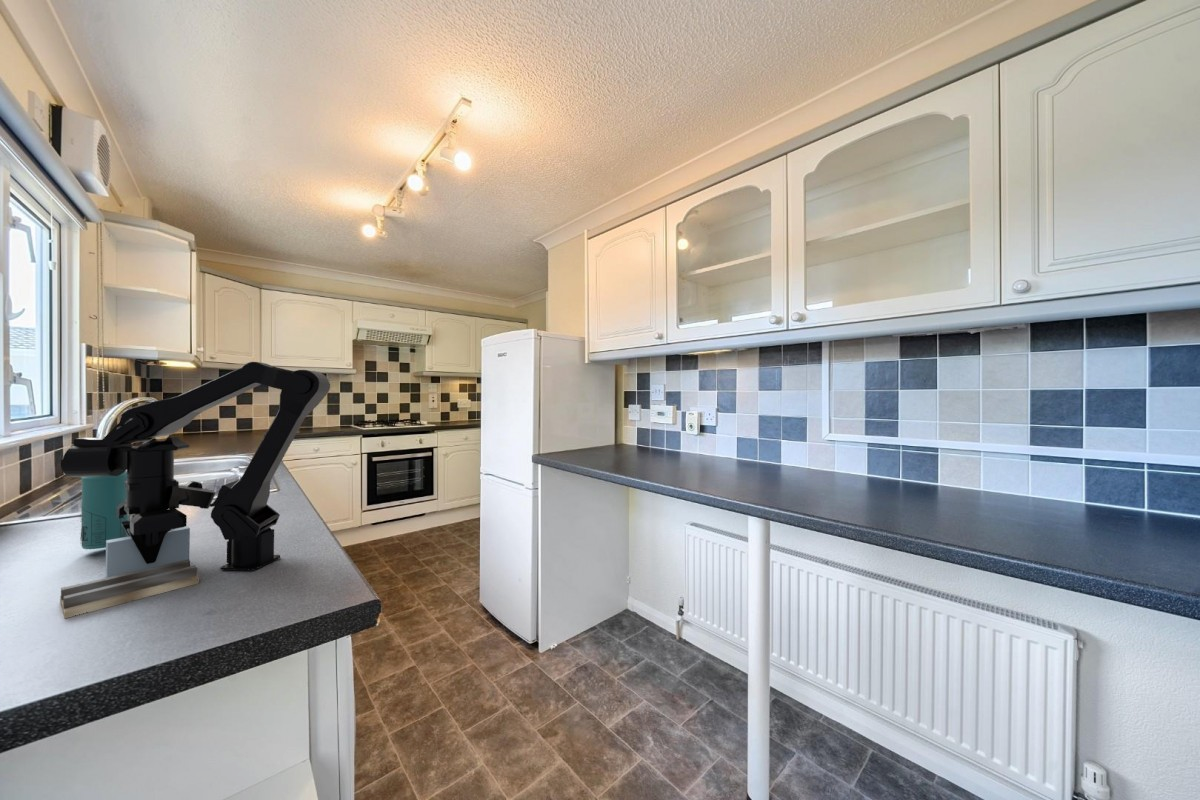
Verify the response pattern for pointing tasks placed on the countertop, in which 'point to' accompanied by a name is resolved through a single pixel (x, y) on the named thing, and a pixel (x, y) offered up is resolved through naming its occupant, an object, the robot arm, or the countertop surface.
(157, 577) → the door track
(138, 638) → the countertop surface
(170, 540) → the door panel
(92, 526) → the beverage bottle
